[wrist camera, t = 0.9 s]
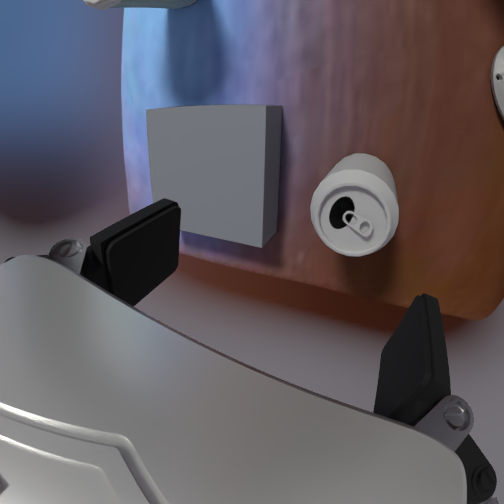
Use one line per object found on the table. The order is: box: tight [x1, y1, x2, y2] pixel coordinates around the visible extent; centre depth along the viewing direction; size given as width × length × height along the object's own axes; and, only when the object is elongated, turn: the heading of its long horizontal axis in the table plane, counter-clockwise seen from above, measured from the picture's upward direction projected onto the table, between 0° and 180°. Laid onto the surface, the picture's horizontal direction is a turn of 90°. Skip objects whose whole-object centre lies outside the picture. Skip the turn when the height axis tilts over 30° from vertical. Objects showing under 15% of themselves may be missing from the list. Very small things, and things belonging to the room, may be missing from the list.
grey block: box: [146, 105, 282, 248], centre depth 35 cm, size 16×16×5 cm
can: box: [310, 154, 399, 257], centre depth 26 cm, size 8×8×12 cm
